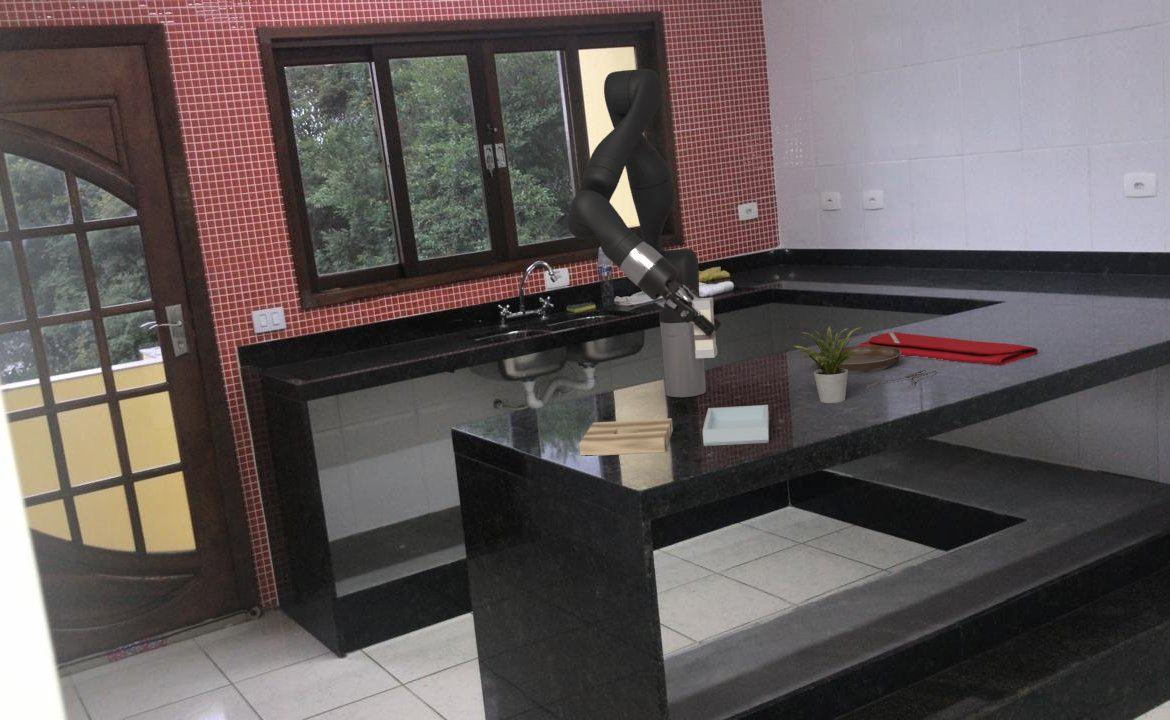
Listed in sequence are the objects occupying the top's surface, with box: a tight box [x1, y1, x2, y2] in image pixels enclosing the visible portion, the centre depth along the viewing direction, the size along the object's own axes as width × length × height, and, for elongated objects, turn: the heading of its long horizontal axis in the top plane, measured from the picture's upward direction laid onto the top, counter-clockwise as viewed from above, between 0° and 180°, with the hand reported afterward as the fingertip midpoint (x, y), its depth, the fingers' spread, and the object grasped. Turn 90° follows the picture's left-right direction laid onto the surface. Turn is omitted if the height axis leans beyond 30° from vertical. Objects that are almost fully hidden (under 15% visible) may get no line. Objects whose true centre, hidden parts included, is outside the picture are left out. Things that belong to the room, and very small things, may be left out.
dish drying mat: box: [858, 331, 1039, 367], centre depth 264 cm, size 16×41×4 cm, turn 36°
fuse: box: [692, 297, 718, 359], centre depth 204 cm, size 4×4×11 cm
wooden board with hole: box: [578, 417, 674, 456], centre depth 207 cm, size 16×16×2 cm
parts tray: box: [702, 404, 770, 447], centre depth 207 cm, size 18×12×3 cm, turn 170°
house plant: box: [793, 325, 863, 404], centre depth 226 cm, size 14×14×16 cm
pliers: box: [865, 369, 937, 390], centre depth 238 cm, size 10×1×20 cm
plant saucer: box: [818, 345, 901, 374], centre depth 258 cm, size 21×21×3 cm
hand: (715, 329), depth 203 cm, fingers closed on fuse, 3 cm apart
